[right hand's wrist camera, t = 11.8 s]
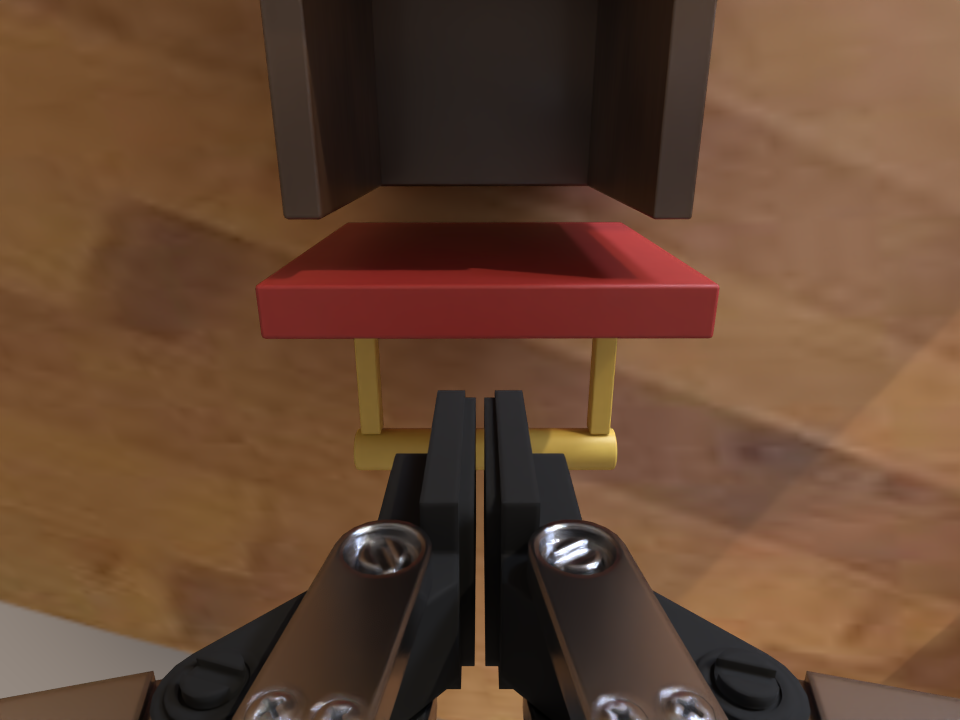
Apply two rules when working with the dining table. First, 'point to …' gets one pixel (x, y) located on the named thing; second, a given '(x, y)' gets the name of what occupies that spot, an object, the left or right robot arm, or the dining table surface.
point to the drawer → (487, 182)
